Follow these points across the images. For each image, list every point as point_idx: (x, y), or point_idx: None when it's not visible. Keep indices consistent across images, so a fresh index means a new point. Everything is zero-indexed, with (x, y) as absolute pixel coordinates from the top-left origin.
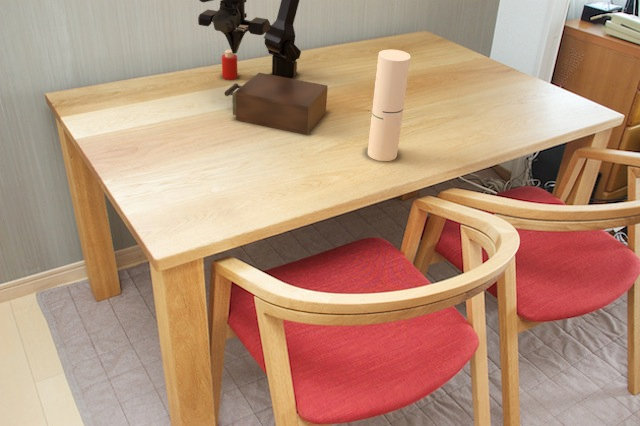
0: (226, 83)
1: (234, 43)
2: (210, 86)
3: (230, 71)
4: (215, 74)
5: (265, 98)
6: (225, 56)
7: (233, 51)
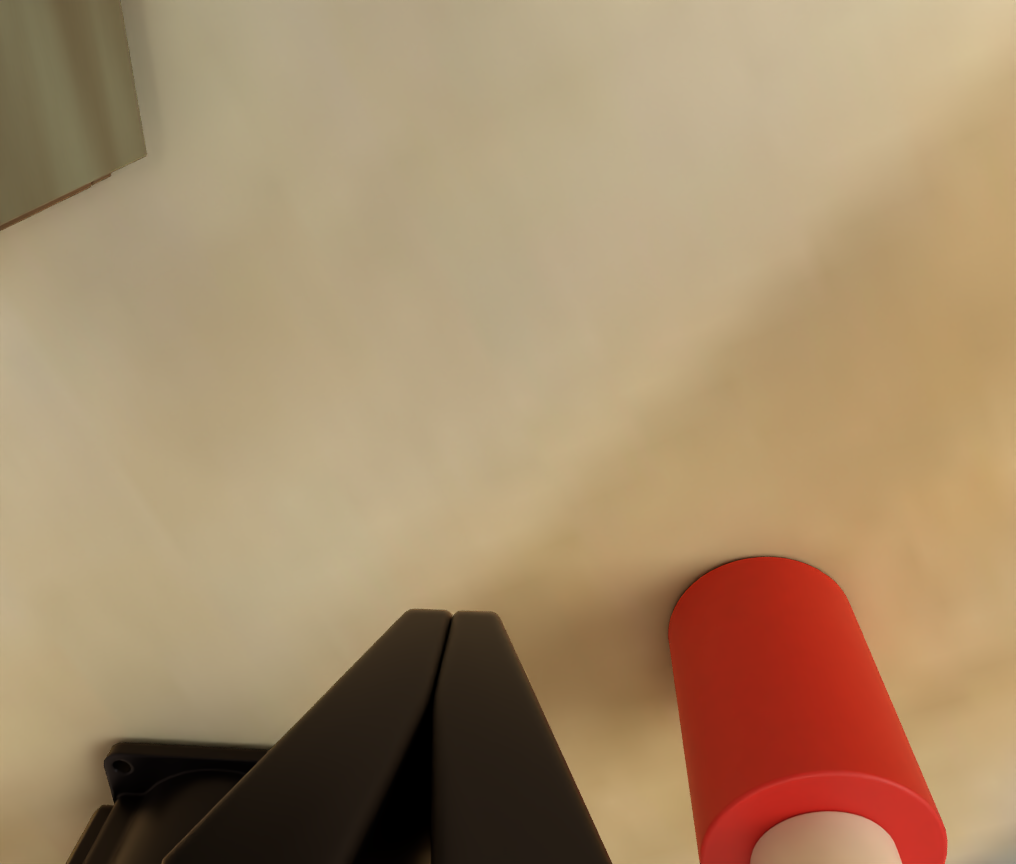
0: (731, 456)
1: (298, 850)
2: (913, 284)
3: (737, 637)
4: (955, 633)
5: None
6: (877, 827)
7: (449, 635)
